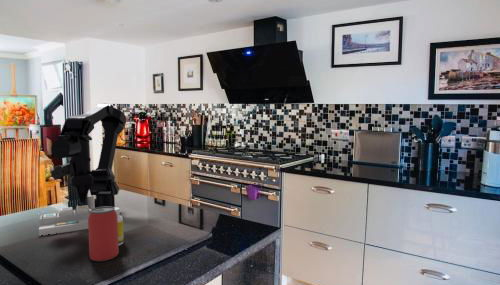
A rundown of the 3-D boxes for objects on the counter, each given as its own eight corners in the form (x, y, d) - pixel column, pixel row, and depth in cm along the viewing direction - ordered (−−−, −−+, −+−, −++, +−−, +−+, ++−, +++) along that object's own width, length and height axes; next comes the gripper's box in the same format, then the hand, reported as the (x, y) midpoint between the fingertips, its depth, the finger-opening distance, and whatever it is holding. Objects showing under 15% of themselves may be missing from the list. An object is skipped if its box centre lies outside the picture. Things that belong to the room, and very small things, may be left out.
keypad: (90, 216, 116) (89, 206, 116) (93, 228, 104) (92, 215, 104) (41, 223, 109) (41, 211, 109) (39, 236, 97) (38, 223, 97)
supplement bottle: (128, 241, 92) (126, 207, 91) (114, 249, 87) (112, 212, 86) (112, 239, 94) (111, 205, 93) (97, 246, 88) (96, 210, 88)
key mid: (72, 212, 109) (72, 206, 109) (72, 215, 106) (72, 209, 106) (60, 214, 107) (60, 208, 107) (60, 217, 104) (60, 210, 104)
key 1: (56, 219, 106) (56, 213, 106) (56, 222, 104) (55, 215, 103) (43, 220, 105) (43, 214, 105) (43, 223, 102) (43, 217, 102)
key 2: (87, 211, 111) (87, 205, 111) (88, 213, 108) (88, 207, 108) (76, 212, 109) (76, 206, 109) (76, 214, 106) (76, 208, 106)
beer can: (95, 252, 85) (93, 206, 84) (122, 251, 85) (120, 205, 84) (85, 263, 78) (83, 213, 77) (113, 261, 79) (112, 212, 78)
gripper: (52, 154, 112) (54, 199, 113) (50, 159, 95) (52, 212, 96) (88, 152, 117) (90, 195, 118) (92, 157, 101) (94, 207, 102)
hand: (82, 202), depth 108 cm, fingers closed
